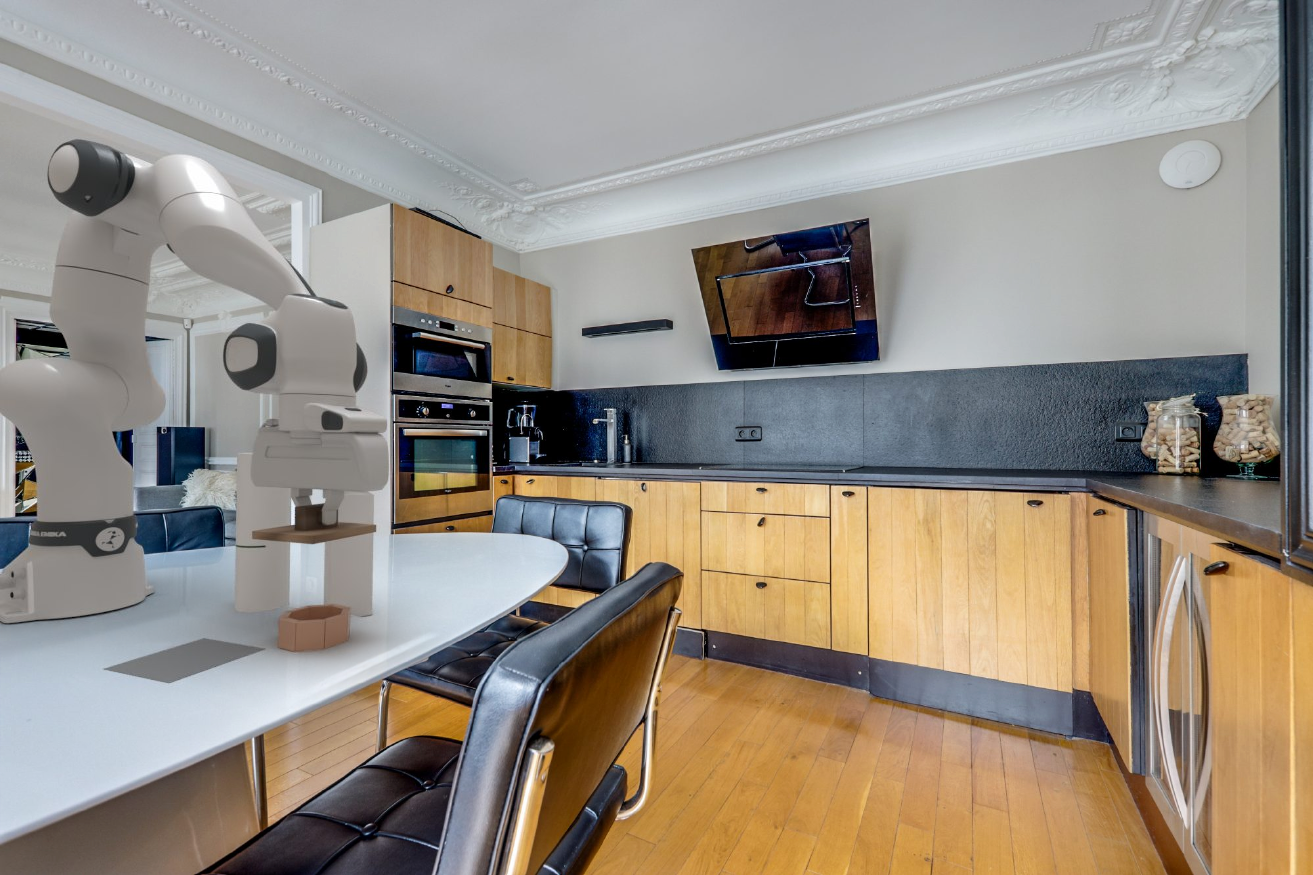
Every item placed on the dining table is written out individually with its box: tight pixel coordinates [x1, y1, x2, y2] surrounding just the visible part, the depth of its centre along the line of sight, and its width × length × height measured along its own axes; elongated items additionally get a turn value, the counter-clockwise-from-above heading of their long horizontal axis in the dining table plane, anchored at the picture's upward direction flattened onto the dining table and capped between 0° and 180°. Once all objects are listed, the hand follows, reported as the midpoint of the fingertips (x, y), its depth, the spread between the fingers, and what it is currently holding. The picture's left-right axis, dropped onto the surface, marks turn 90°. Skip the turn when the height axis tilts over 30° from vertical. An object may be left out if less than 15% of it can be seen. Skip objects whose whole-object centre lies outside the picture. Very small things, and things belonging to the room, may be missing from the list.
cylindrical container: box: [234, 452, 292, 613], centre depth 92 cm, size 7×7×25 cm
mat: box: [103, 637, 266, 684], centre depth 70 cm, size 11×11×1 cm
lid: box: [252, 502, 377, 545], centre depth 77 cm, size 10×10×4 cm
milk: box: [323, 491, 375, 618], centre depth 92 cm, size 6×6×22 cm
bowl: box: [277, 604, 352, 653], centre depth 77 cm, size 8×8×5 cm
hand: (317, 523), depth 77 cm, fingers closed on lid, 2 cm apart
